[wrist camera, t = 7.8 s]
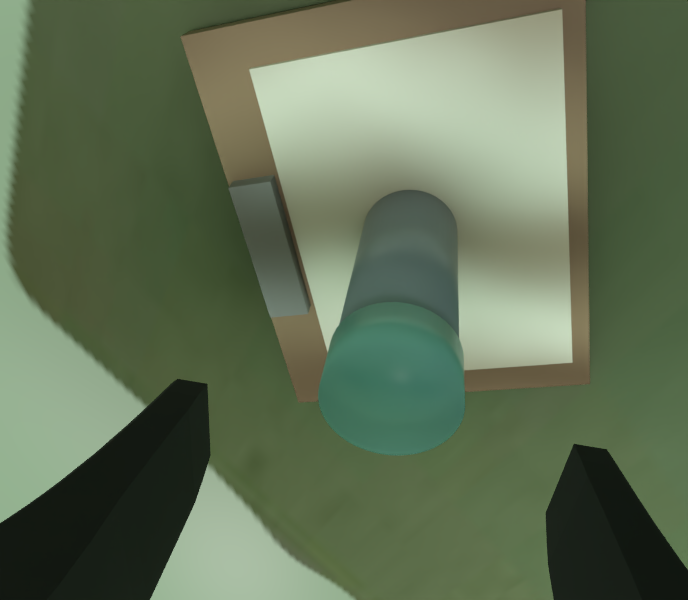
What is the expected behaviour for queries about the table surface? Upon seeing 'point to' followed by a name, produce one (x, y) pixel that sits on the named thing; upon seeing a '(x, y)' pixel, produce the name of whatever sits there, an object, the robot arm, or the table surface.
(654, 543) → the robot arm
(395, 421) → the marker
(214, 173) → the table surface
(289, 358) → the clipboard
